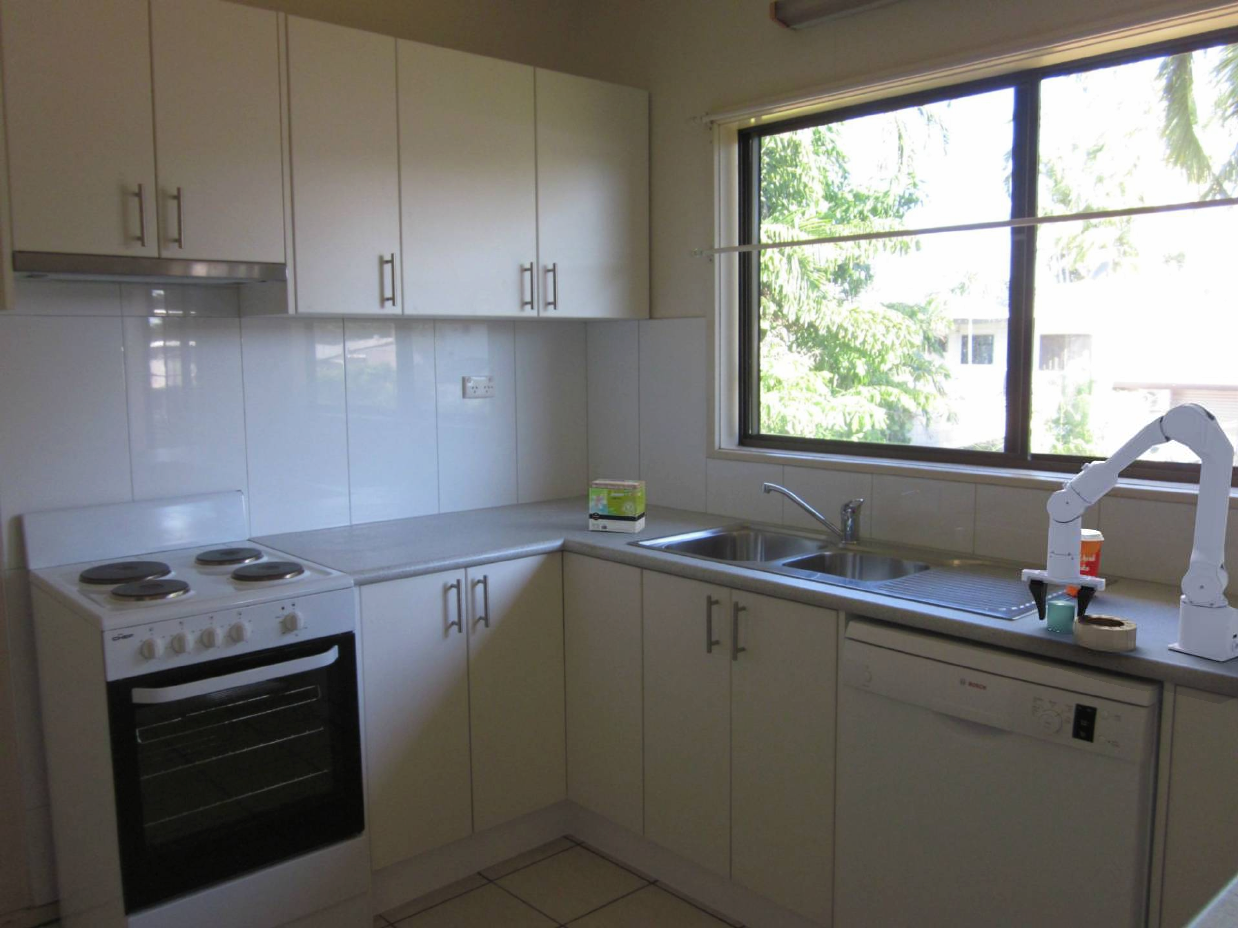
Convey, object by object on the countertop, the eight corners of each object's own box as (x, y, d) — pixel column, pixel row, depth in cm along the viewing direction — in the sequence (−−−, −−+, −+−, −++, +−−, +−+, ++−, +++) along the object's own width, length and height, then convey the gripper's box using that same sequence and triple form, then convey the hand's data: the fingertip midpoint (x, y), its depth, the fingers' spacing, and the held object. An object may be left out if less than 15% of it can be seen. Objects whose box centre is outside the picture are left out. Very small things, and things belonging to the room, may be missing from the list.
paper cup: (1055, 594, 215) (1059, 531, 213) (1069, 588, 220) (1072, 526, 219) (1093, 600, 209) (1096, 536, 208) (1106, 594, 215) (1109, 531, 213)
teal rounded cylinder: (1079, 630, 188) (1080, 604, 188) (1064, 634, 186) (1065, 608, 185) (1056, 624, 192) (1057, 599, 192) (1041, 628, 189) (1042, 602, 189)
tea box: (588, 531, 292) (587, 482, 290) (598, 525, 302) (598, 477, 300) (636, 533, 288) (636, 483, 286) (645, 527, 297) (645, 479, 296)
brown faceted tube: (1146, 645, 178) (1148, 624, 177) (1115, 655, 172) (1116, 633, 172) (1093, 632, 186) (1094, 611, 186) (1062, 641, 181) (1063, 620, 180)
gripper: (1110, 553, 186) (1106, 623, 187) (1029, 544, 195) (1026, 611, 196) (1102, 559, 180) (1098, 631, 182) (1019, 550, 189) (1016, 619, 191)
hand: (1060, 621), depth 189 cm, fingers open, 6 cm apart
